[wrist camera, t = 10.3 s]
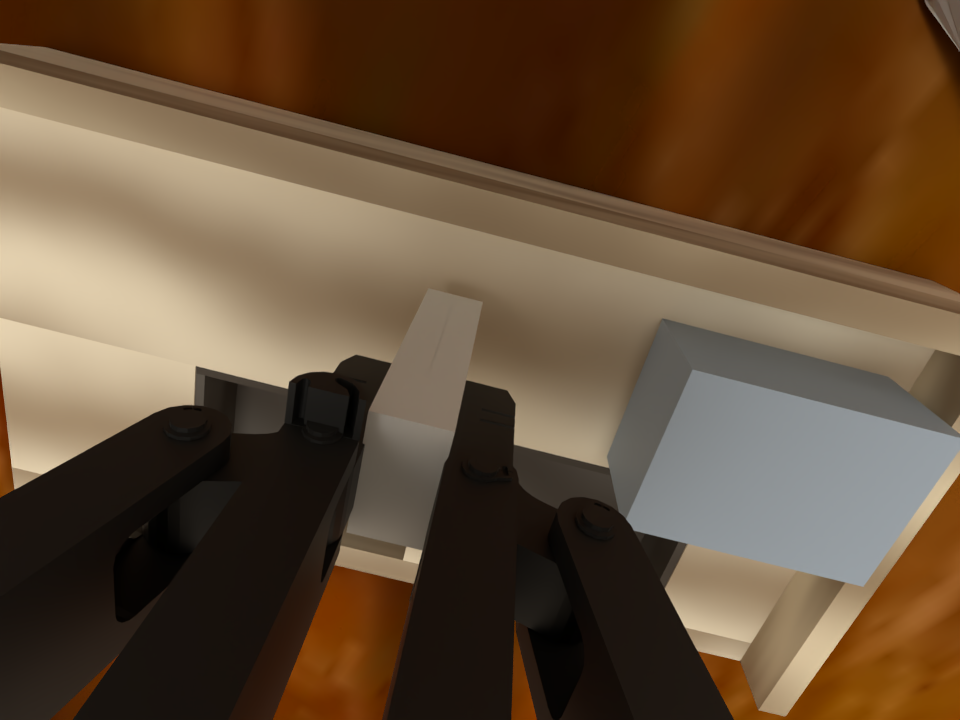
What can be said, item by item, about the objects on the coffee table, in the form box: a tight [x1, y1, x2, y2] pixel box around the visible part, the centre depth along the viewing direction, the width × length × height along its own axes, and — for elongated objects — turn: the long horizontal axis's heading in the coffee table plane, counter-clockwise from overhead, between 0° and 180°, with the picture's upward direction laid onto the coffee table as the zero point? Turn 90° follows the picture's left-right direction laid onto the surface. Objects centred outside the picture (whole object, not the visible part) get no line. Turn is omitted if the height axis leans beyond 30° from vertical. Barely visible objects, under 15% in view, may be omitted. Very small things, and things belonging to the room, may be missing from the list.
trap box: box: [0, 43, 960, 716], centre depth 20 cm, size 15×29×5 cm, turn 76°
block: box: [607, 318, 960, 587], centre depth 17 cm, size 5×7×4 cm
